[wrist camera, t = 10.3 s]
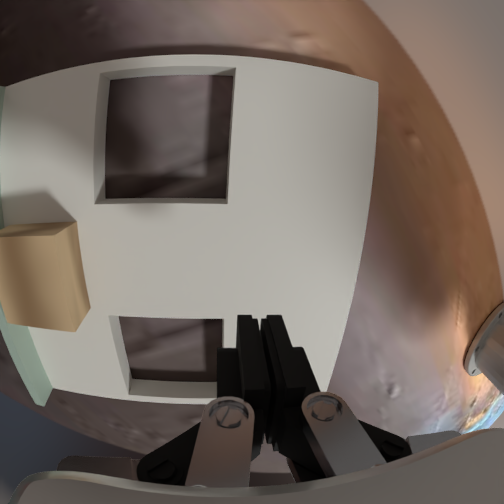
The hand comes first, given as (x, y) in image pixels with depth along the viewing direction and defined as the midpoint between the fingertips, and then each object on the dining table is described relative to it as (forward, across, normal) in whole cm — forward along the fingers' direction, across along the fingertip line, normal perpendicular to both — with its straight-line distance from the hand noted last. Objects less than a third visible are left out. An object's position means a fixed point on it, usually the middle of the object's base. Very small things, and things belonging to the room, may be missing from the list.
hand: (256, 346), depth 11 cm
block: (+7, +13, 0) cm, 15 cm away
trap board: (+9, +5, -1) cm, 10 cm away
